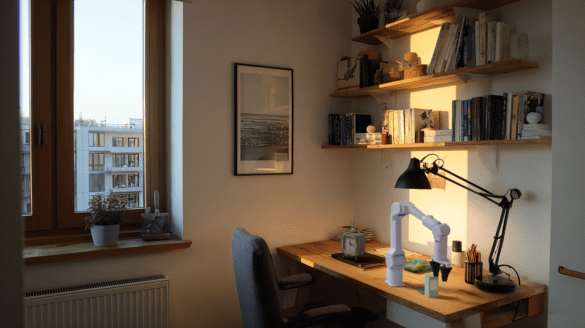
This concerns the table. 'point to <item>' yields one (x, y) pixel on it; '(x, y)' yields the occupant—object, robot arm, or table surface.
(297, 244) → the table surface
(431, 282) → the sage block
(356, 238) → the tabletop clock
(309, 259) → the table surface
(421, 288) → the mat
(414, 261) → the puzzle game
